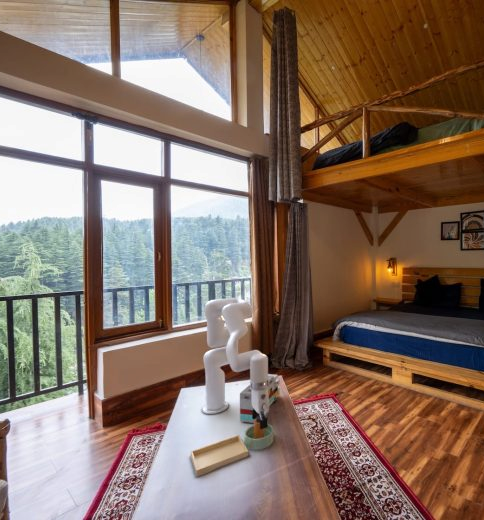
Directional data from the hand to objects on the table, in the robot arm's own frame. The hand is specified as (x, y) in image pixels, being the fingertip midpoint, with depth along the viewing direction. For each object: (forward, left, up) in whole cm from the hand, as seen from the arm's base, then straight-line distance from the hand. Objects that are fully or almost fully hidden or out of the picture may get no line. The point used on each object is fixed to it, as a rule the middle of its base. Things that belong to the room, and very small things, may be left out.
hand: (259, 422), depth 130 cm
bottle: (0, 0, -8) cm, 8 cm away
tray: (0, -17, -9) cm, 19 cm away
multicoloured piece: (-27, +11, -9) cm, 31 cm away
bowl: (0, 0, -9) cm, 9 cm away
